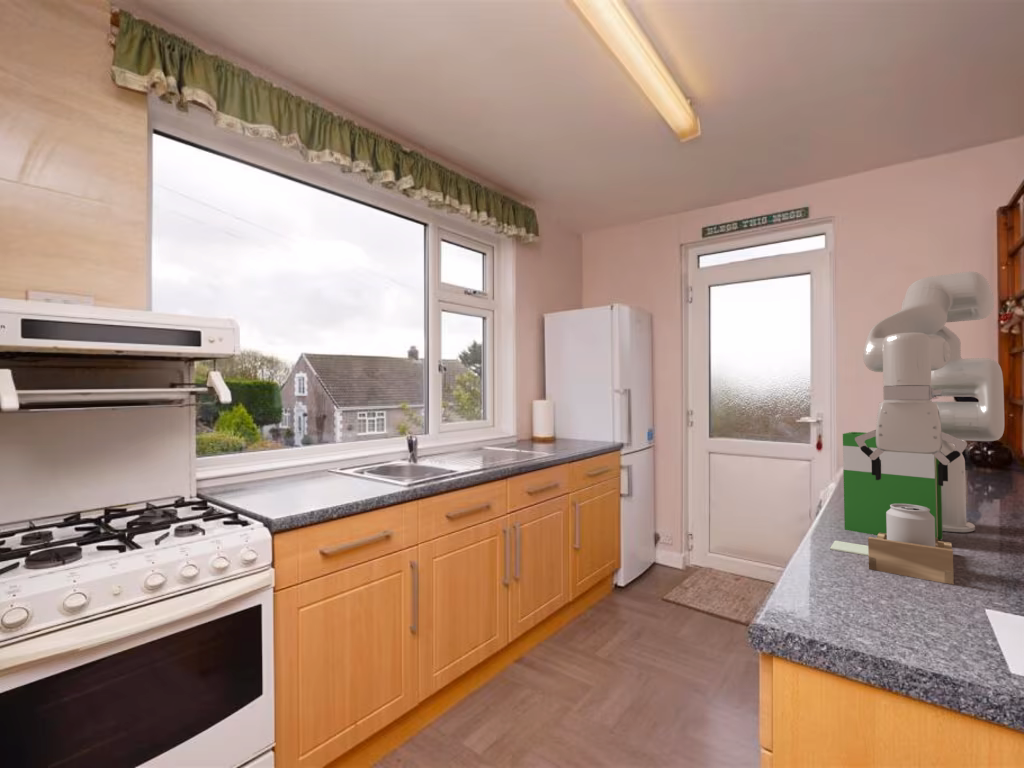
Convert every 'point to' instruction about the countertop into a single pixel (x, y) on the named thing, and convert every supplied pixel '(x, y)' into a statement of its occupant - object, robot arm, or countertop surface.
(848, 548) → the mat
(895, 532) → the can
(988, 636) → the countertop surface
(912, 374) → the robot arm
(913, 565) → the frame
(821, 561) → the countertop surface
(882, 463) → the hardback book
